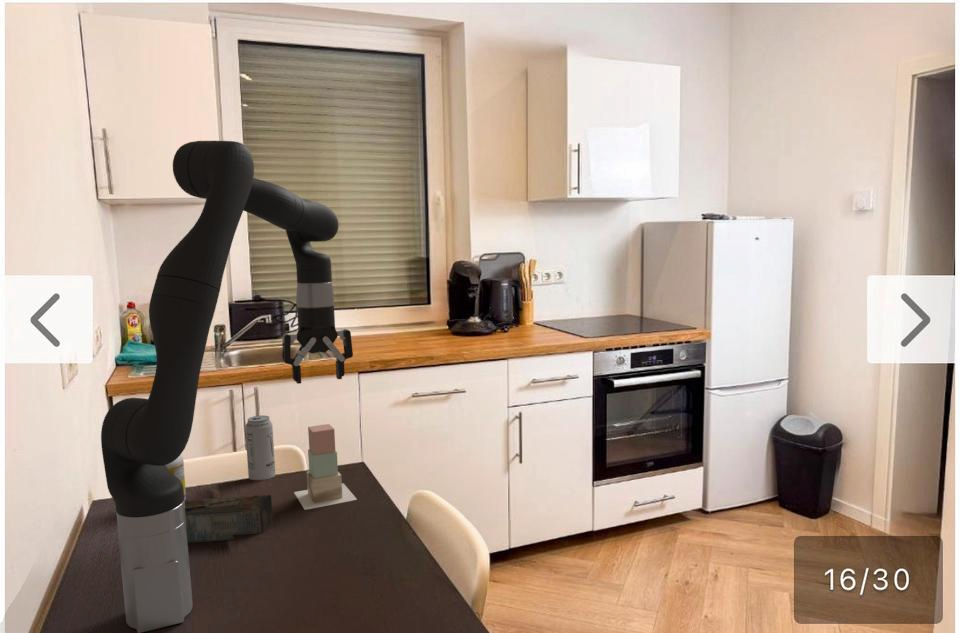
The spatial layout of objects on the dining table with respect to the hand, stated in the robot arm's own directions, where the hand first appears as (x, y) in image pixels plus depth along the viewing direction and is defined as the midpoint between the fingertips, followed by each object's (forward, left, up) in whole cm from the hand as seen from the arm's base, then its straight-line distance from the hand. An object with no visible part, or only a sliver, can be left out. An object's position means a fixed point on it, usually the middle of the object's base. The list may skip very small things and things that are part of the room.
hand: (319, 380), depth 144 cm
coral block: (0, 0, -15) cm, 15 cm away
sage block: (0, 0, -20) cm, 20 cm away
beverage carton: (-6, +22, -27) cm, 35 cm away
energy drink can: (+20, +10, -27) cm, 35 cm away
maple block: (0, 0, -25) cm, 25 cm away
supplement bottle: (+16, +30, -27) cm, 43 cm away
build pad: (0, 0, -26) cm, 26 cm away
